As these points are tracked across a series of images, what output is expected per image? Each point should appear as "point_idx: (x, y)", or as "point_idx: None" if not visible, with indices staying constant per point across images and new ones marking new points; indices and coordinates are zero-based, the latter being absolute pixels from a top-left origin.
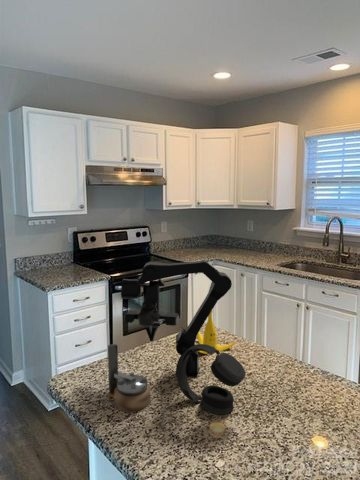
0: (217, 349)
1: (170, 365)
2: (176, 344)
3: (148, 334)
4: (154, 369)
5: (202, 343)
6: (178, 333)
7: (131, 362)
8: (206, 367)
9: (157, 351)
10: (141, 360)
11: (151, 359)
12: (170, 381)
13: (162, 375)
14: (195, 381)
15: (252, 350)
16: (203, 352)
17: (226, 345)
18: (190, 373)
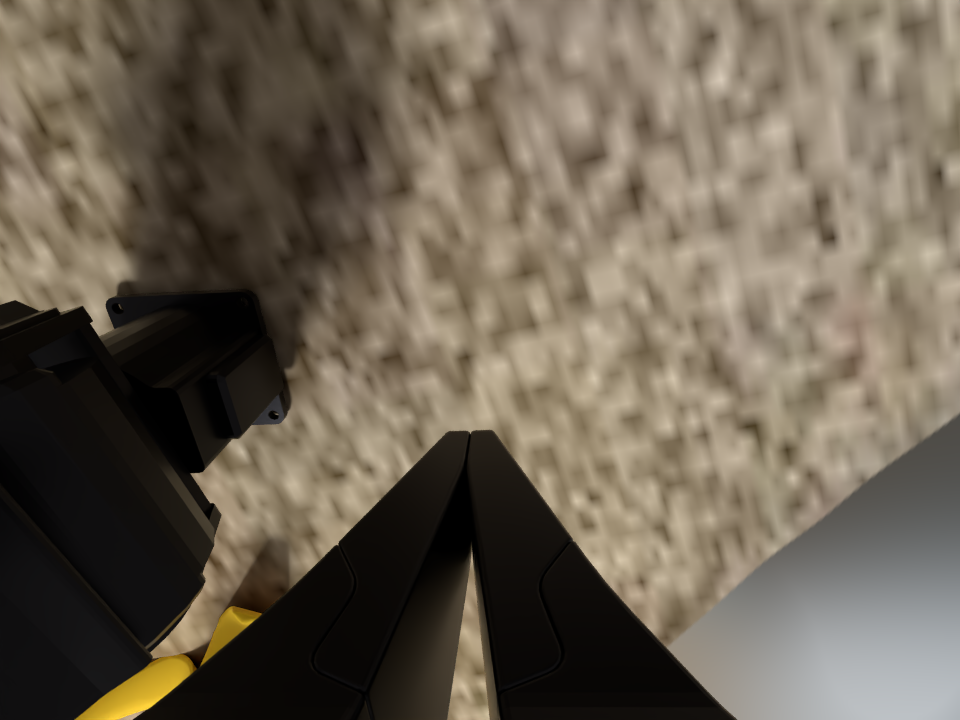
0: (183, 664)
1: (391, 431)
2: (22, 435)
3: (531, 509)
4: (489, 347)
5: None
6: (59, 702)
7: (710, 414)
8: None
9: None
10: (636, 458)
11: (563, 486)
12: (280, 178)
13: (388, 265)
14: (91, 232)
15: None
16: (230, 614)
17: (133, 703)
18: (153, 311)
